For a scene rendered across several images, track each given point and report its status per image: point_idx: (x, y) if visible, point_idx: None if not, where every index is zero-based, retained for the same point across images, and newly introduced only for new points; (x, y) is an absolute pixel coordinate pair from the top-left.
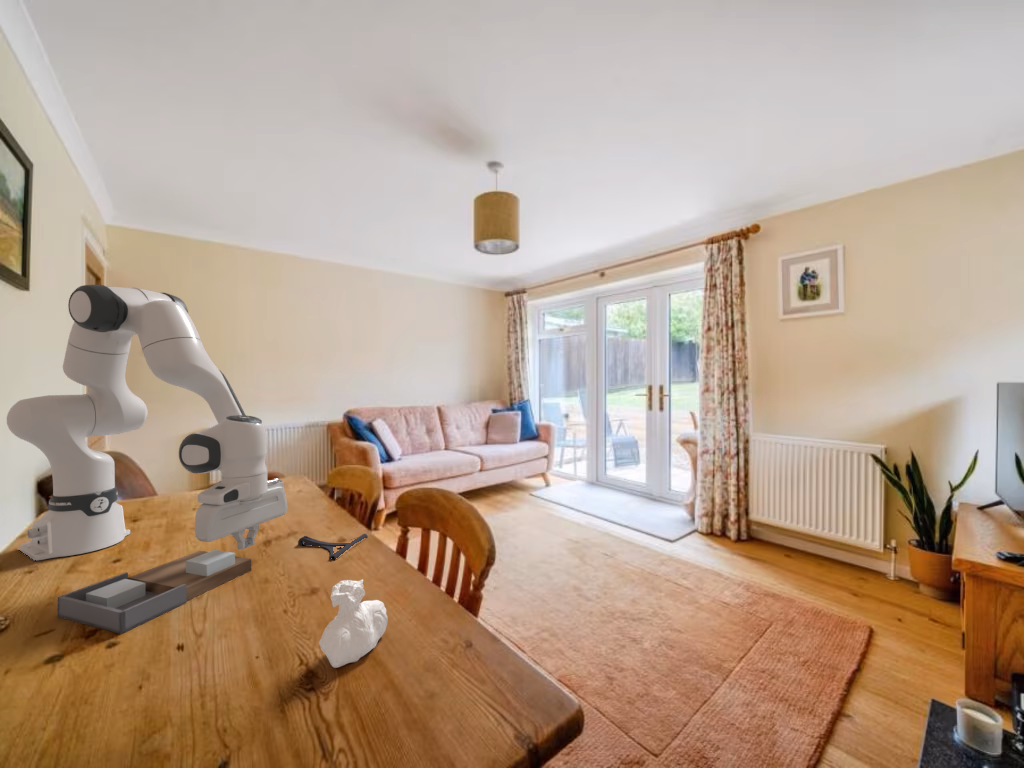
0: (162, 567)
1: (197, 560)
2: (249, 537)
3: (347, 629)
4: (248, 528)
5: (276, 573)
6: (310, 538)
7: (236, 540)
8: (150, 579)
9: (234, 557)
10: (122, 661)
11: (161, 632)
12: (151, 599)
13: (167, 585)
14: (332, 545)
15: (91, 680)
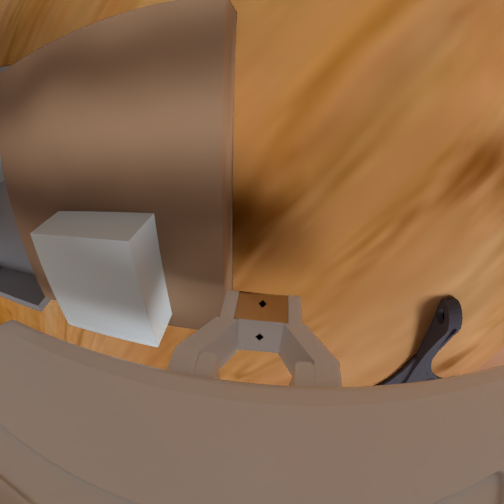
0: (44, 74)
1: (54, 272)
2: (281, 342)
3: None
4: (292, 376)
5: (240, 363)
6: (447, 339)
7: (212, 322)
8: (6, 156)
9: (162, 332)
10: (15, 317)
11: (37, 315)
12: (4, 297)
13: (23, 243)
14: (405, 381)
15: (3, 314)
